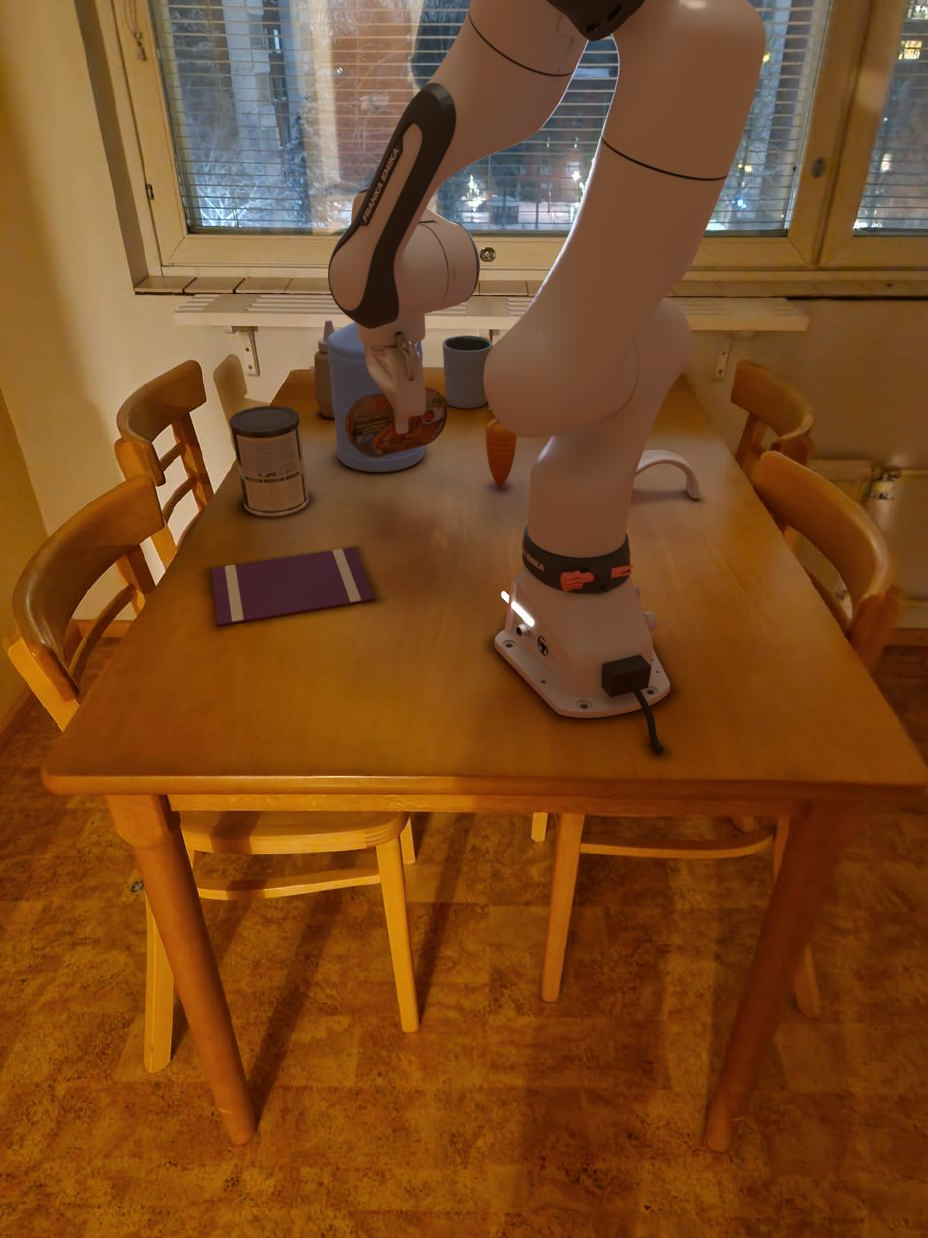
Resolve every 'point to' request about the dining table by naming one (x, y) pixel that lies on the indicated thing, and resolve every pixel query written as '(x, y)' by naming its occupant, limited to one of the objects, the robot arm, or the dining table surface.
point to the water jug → (349, 387)
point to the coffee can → (270, 460)
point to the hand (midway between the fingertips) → (397, 426)
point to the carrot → (499, 450)
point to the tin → (375, 425)
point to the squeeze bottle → (324, 373)
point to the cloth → (289, 586)
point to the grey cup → (465, 370)
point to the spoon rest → (671, 458)
